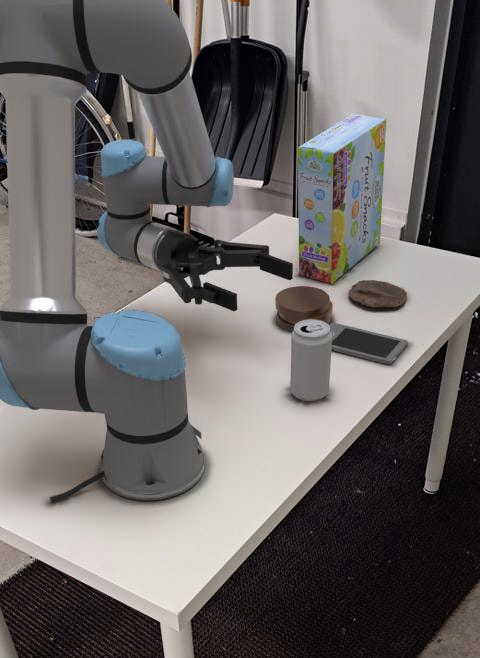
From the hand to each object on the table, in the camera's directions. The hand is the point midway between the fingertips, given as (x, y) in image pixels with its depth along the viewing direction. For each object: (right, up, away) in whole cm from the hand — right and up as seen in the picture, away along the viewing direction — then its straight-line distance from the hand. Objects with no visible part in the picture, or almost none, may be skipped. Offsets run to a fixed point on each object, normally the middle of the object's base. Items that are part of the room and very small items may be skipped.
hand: (264, 287), depth 135 cm
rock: (+23, +6, +30) cm, 38 cm away
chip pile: (+8, +1, +24) cm, 26 cm away
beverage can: (+8, -16, +6) cm, 19 cm away
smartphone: (+18, -6, +17) cm, 25 cm away
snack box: (+17, +18, +43) cm, 50 cm away
